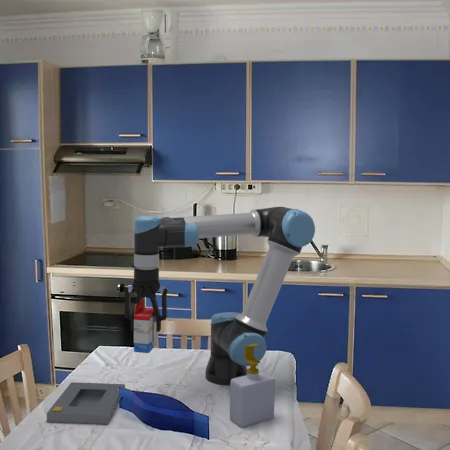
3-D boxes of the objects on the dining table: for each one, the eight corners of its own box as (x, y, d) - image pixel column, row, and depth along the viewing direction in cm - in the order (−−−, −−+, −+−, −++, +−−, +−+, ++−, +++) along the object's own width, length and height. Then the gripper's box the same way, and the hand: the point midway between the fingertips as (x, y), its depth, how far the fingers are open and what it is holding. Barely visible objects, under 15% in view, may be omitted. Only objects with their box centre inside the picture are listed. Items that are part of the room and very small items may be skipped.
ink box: (148, 353, 165) (149, 306, 163) (133, 352, 165) (133, 305, 164) (157, 344, 173) (158, 299, 171) (142, 343, 174) (143, 298, 172)
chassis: (124, 392, 181) (124, 383, 181) (107, 424, 160) (107, 414, 159) (71, 390, 182) (71, 381, 182) (46, 422, 160) (46, 412, 160)
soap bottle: (241, 428, 159) (243, 350, 156) (228, 419, 164) (230, 343, 161) (274, 418, 165) (276, 343, 162) (261, 409, 171) (263, 337, 168)
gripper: (178, 265, 170) (176, 338, 172) (119, 263, 170) (118, 336, 173) (175, 270, 162) (173, 346, 165) (113, 268, 163) (113, 344, 165)
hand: (145, 341), depth 169 cm, fingers closed on ink box, 5 cm apart
